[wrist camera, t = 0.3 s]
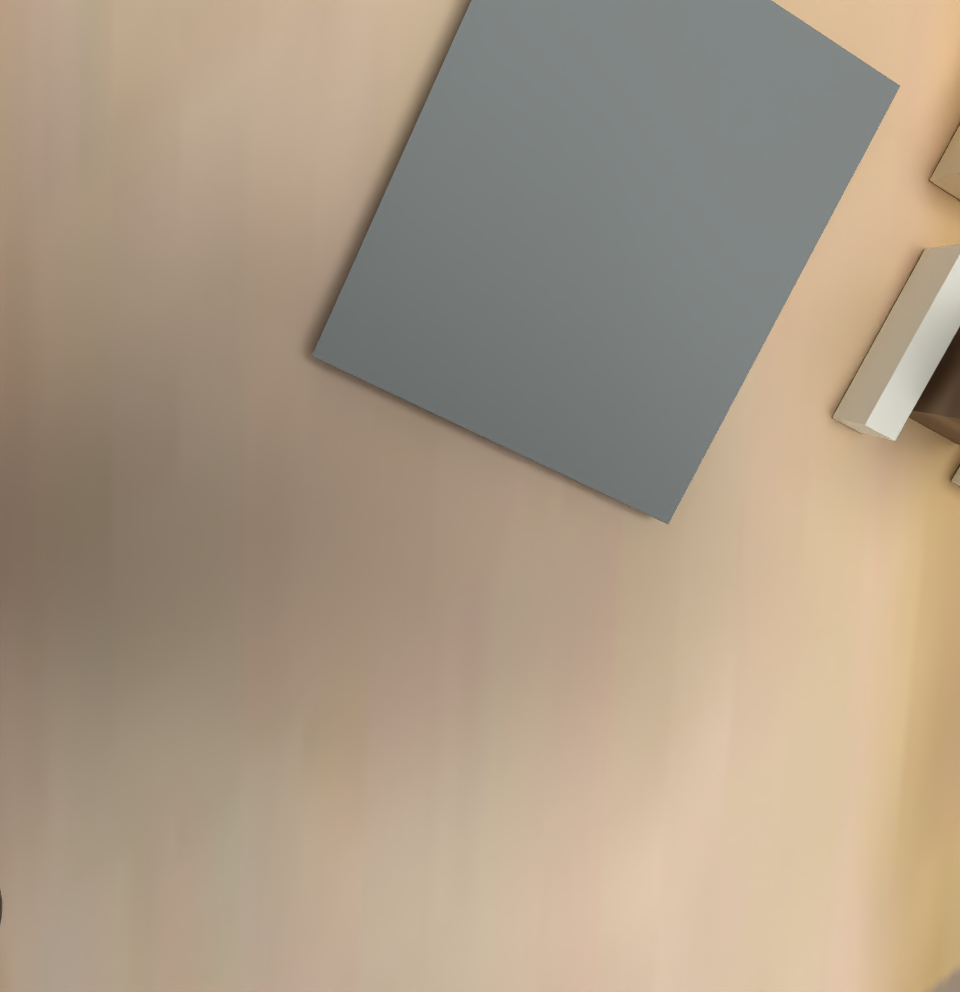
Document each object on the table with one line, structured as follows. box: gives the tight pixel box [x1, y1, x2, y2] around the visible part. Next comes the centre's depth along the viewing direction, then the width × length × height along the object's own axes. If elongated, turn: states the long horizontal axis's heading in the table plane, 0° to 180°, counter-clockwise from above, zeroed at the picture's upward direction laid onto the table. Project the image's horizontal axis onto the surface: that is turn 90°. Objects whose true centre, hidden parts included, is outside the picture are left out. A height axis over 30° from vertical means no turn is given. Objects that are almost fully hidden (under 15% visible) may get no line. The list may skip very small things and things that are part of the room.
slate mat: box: [312, 0, 900, 524], centre depth 20 cm, size 12×10×1 cm
